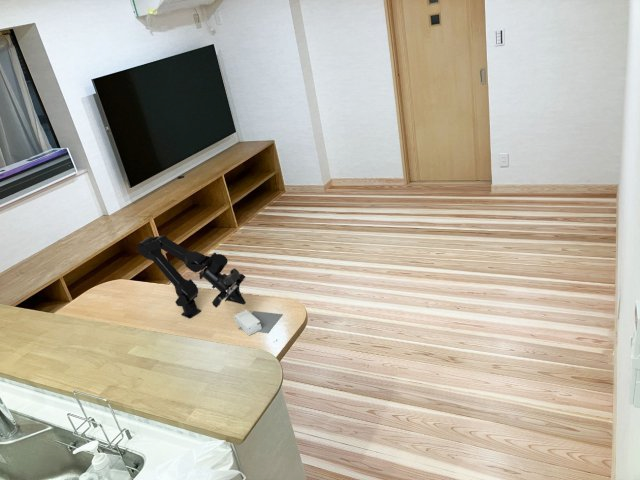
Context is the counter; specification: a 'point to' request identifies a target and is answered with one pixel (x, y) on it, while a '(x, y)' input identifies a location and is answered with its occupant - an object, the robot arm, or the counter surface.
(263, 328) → the slate mat
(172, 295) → the counter surface
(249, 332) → the skincare box
